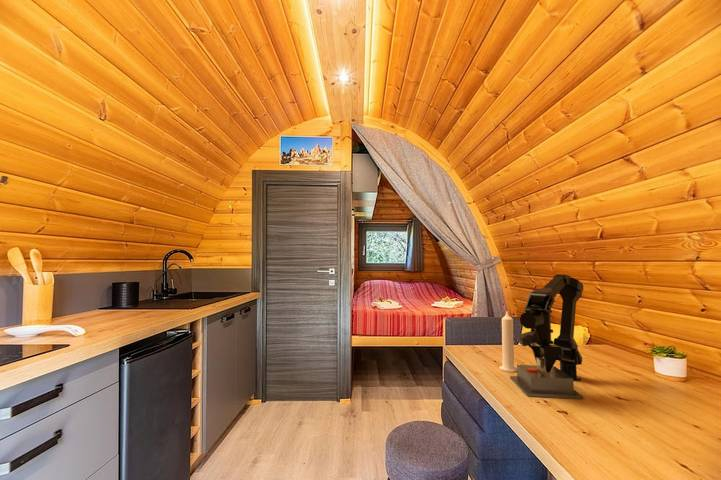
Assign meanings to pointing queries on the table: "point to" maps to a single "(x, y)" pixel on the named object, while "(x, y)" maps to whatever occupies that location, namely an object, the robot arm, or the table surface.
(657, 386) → the table surface
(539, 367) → the post
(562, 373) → the stand
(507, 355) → the candle
